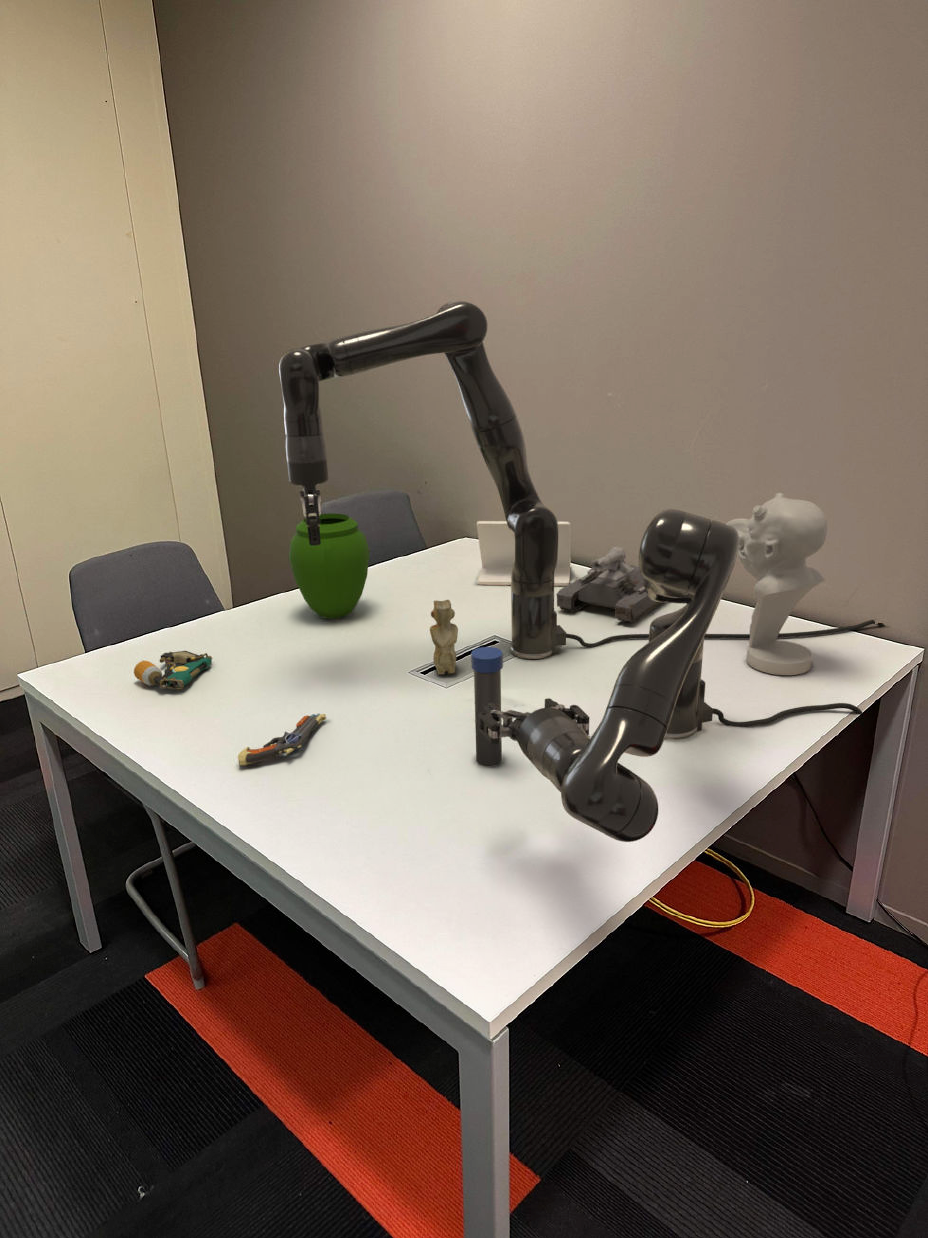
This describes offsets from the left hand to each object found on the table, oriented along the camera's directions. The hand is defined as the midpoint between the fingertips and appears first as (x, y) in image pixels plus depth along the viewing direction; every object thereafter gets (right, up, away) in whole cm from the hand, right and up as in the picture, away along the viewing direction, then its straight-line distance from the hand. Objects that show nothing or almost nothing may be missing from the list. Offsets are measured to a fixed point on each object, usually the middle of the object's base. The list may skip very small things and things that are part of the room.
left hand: (314, 539), depth 170 cm
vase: (-3, -15, +44) cm, 47 cm away
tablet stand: (+47, -4, +69) cm, 84 cm away
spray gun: (-31, -28, +11) cm, 43 cm away
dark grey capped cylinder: (+34, -40, -25) cm, 58 cm away
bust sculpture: (+92, -25, +11) cm, 96 cm away
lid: (+33, -22, -32) cm, 51 cm away
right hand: (+38, -29, -47) cm, 67 cm away
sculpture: (+26, -27, +10) cm, 39 cm away
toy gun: (-2, -38, -18) cm, 42 cm away
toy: (+68, -12, +45) cm, 82 cm away
